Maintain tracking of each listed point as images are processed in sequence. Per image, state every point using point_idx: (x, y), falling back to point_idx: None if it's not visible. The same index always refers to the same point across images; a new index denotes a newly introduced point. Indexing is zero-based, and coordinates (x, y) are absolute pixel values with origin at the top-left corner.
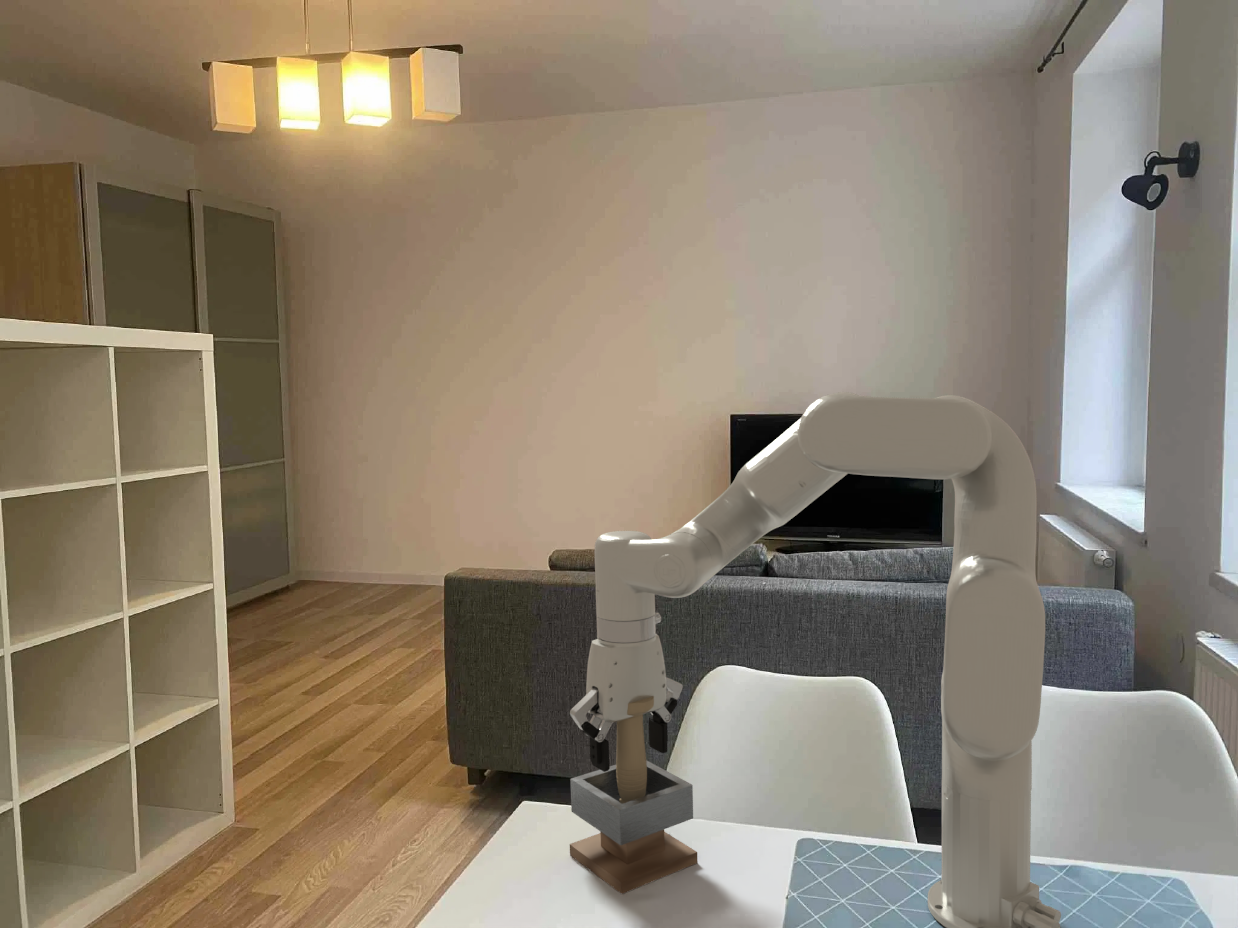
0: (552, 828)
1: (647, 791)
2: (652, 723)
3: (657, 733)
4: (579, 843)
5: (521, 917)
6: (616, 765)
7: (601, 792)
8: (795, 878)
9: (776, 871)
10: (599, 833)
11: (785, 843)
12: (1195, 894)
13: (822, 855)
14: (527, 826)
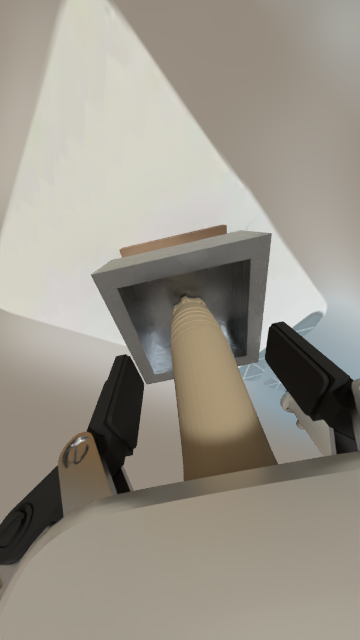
0: (109, 152)
1: (231, 272)
2: (312, 384)
3: (291, 380)
4: (131, 254)
5: (67, 328)
6: (174, 338)
7: (137, 342)
8: (265, 350)
9: (263, 340)
10: (161, 240)
11: (301, 313)
12: None
13: (303, 335)
14: (67, 114)
